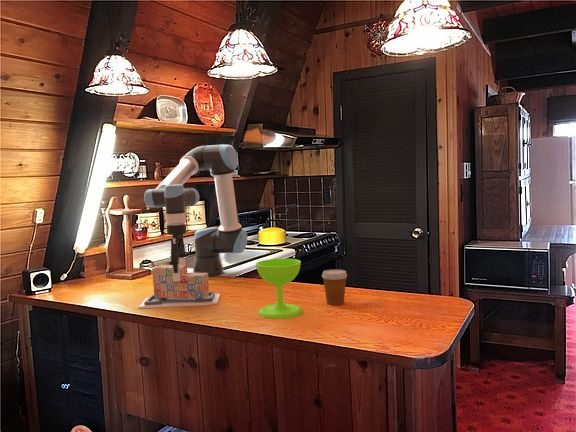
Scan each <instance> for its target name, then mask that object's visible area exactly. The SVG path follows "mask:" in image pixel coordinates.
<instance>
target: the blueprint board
mask: <svg viewBox="0 0 576 432" xmlns="http://www.w3.org/2000/svg"><path fill="white" fill-rule="evenodd" d="M215 292H216V291H209V296H207V297H205V298H204V299H180V298H154V294H150V295H149V296H148V297H146V298H145V299H144V300H143V301H142V302H140V304H139V305H138V307H137V308H138V309H150V308H151V309H159V308H174V307H175V308H176V307H195V306H212V305H213V306H216V305H218V303H219V300H220V297H221V293H215Z"/></svg>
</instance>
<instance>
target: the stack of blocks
mask: <svg viewBox="0 0 576 432" xmlns="http://www.w3.org/2000/svg"><path fill="white" fill-rule="evenodd" d="M151 271H152V284H153V295H154V298H180V299H204V298H205V297H207V296H209V292H210V287H209V276H208V273H193V272H188V266H187V265H186V264H185V265H180V281H173V272H172V265H170V264H168V265H167V264H160V265H157V266H154V267H152V270H151Z"/></svg>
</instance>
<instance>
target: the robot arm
mask: <svg viewBox="0 0 576 432" xmlns="http://www.w3.org/2000/svg"><path fill="white" fill-rule="evenodd" d="M238 157H239V156H238V153H237V151H236V149H235V148H234V146H232V145H230V144H224V143H223V144H213V145H201V146H197V147H195V148H192V149H191V150H190V151H188V152H187V153H185V155H183V156H182V157H180V159H179V164H178V165H177V166H175V168H174V169H173V170H172V171H170V173H169V174H168V175H167V176H166V177H165V178H164V179H163V181H162V182H160V183H159V184H158V186H156V188H152V189H147V190H146V191H145V192H144V194H143V195H144V196H143V201H144V204H145V205H146V206H147V207H149V208H165V216H164V219H165V221H166V223H165V224H167V225H166V233H167V235H169V236H172V238H170V262H169V265H172V272H173V281H180V265H186V258H187V257H188V254H186V249H185V248H186V247H185V241H184V234H186V233H187V224H186V222H187V218H186V208H188V207H193V206H195V205H197V204H198V202H199V201H200V194H199V192H198V190H197V189H196V188H193V187H184V184H185V183H187V181H188V180H189V179H190V178H191V176H193V175H195V174H197V173H198V172H200V171H209V172H210V176H212V177H213V178H214V185H215V194H216V198H217V199H216V200H217V207H218V213H219V221H220V225H219V227H217V226H214V227H213V226H212V227H207V228H201V229H200V228H199V229H197V230H196V231H195V232H194V248H195V260H194V266H193V270H192V273H208V277H212V276H218V275H221V274H223V273H224V267H223V264H222V262H221V260H220V254H233V255H234V254H241V253H243V252H244V251H245V249H246V247H247V243H248V233H247V230H246V229H243V226H242V224H241V223H239V217H238V210H237V204H236V195H235V188H234V181H233V175H234V173H235V172H236V169H237V168H238V164H239V158H238Z"/></svg>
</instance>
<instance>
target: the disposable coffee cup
mask: <svg viewBox="0 0 576 432" xmlns="http://www.w3.org/2000/svg"><path fill="white" fill-rule="evenodd" d="M321 277H322V279H323V280H322V281H323V285H324V291H325V292H324V293H325V300H326V304H327V305H330V306H341V305H343V304H344V303H345V302H344V301H345V295H346V294H345V293H346V284H347V283H346V282H347V277H348V274H347V271H346V270H344V269H326V270H323V272H322V274H321Z"/></svg>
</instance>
